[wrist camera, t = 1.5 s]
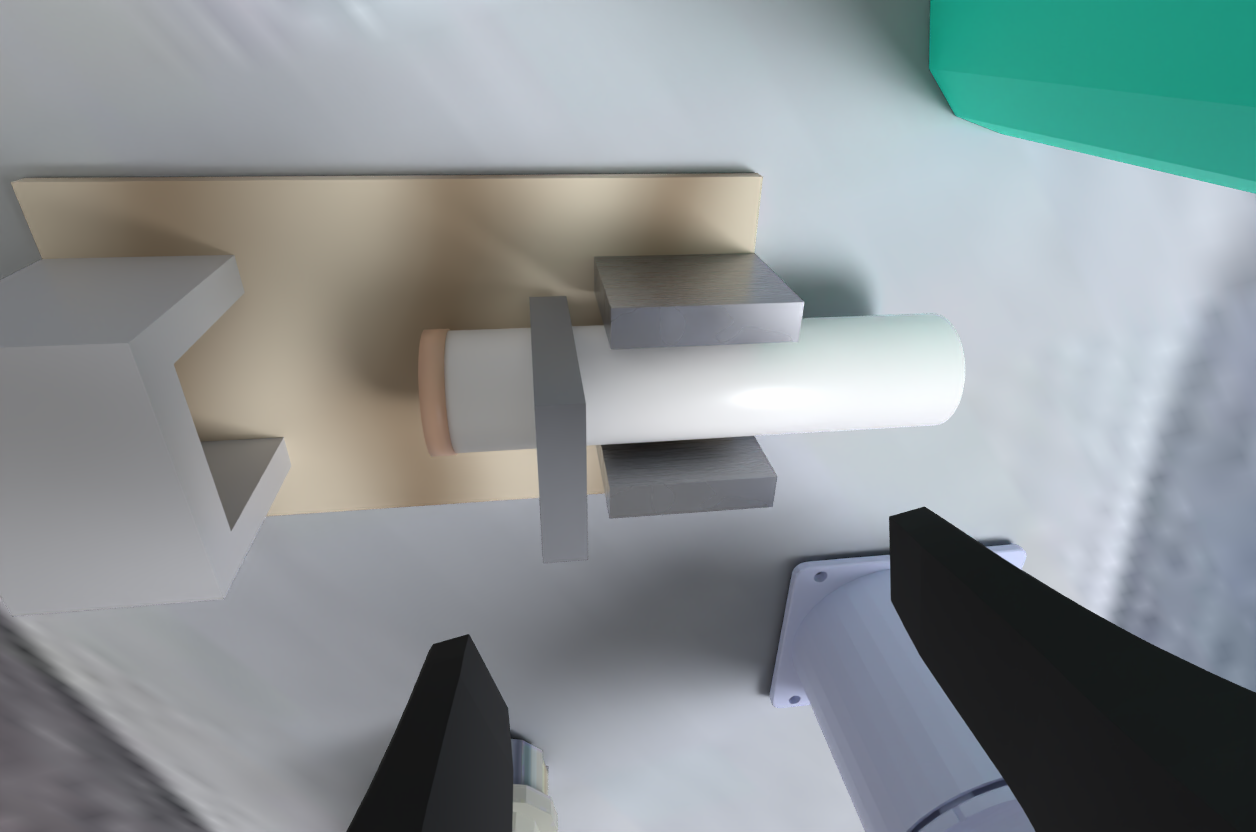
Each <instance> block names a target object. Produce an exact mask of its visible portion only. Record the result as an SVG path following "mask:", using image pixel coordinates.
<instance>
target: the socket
mask: <svg viewBox="0 0 1256 832" xmlns="http://www.w3.org/2000/svg"><path fill="white" fill-rule="evenodd" d="M244 293H245V292H244V288H243V285H242V281H241V277H240V274H239V270H238V266H237V263H236V259H235V255H203V256H155V257H106V258H58V259H41V260H39V261H37V262H35V263H33V264H31V265H29V266H27V267H25V268H23V269H21V270H19V271H17V272H15V273H13V274H11V275H9V276H7V277H5V278H3V279H1V280H0V597H1V599H2V600H3V602H4V604H5V605H6V607H7V609H8V610H9V612H10V614H11V615H12V617H14V616H26V615H38V614H50V613H62V612H74V611H87V610H99V609H111V608H123V607H135V606H147V605H160V604H172V603H184V602H196V601H208V600H220V599H225V597H226V595H227V593H228V591H229V589H230V587H231V585H232V583H233V581H234V579H235V577H236V575H237V573H238V571H239V569H240V567H241V565H242V563H243V561H244V559H245V557H246V555H247V553H248V551H249V549H250V547H251V545H252V543H253V541H254V539H255V537H256V535H257V533H258V531H259V529H260V527H261V525H262V523H263V521H264V519H265V517H266V515H267V513H268V511H269V509H270V507H271V505H272V503H273V501H274V499H275V497H276V495H277V493H278V492H279V490H280V488H281V486H282V484H283V482H284V480H285V478H286V476H287V474H288V472H289V470H290V468H291V462H290V458H289V455H288V451H287V447H286V444H285V440H284V437H279V438H260V439H241V440H223V441H204V442H200V439H199V437H198V434H197V431H196V428H195V425H194V422H193V419H192V416H191V413H190V410H189V407H188V405H187V402H186V399H185V396H184V393H183V390H182V387H181V384H180V381H179V378H178V375H177V372H176V370H175V367H174V363H175V362H176V361H177V360H178V359H179V358H180V357H181V356H182V355H183V354H184V353H185V352H186V351H187V350H188V349H189V348H190V347H191V346H192V345H193V344H194V343H195V342H196V341H197V340H198V339H199V338H200V337H201V336H202V335H203V334H204V333H205V332H206V331H207V330H208V329H209V328H210V327H211V326H212V325H213V324H214V323H215V322H216V321H217V320H218V319H219V318H220V317H221V316H222V315H223V314H224V313H225V312H226V311H227V310H228V309H229V308H230V307H231V306H232V305H233V304H234V303H235V302H236V301H237V300H238V299H239V298H240V297H241V296H242V295H243V294H244Z"/></svg>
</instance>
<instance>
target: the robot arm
mask: <svg viewBox="0 0 1256 832" xmlns="http://www.w3.org/2000/svg"><path fill="white" fill-rule="evenodd" d="M889 531H890V555H880V556H868V557H857V558H845V559H833V560H821V561H809V562H803V563H800V564H799V565H797V566H796V567H795V568H794V570H793V572H792V576H791V581H790V587H789V592H788V598H787V603H786V609H785V614H784V619H783V625H782V630H781V636H780V641H779V647H778V652H777V657H776V663H775V668H774V674H773V679H772V684H771V690H770V700H771V703H772V705H773V706H774V707H777V708H786V707H795V706H804V705H811V707H812V709H813V711H814V714H815V716H816V718H817V721H818V723H819V725H820V728H821V730H822V732H823V735H824V737H825V739H826V741H827V744H828V746H829V748H830V751H831V753H832V755H833V758H834V760H835V762H836V765H837V767H838V769H839V772H840V774H841V776H842V779H843V781H844V783H845V786H846V788H847V790H848V793H849V795H850V797H851V800H852V802H853V804H854V807H855V809H856V811H857V814H858V816H859V818H860V821H861V823H862V825H863V828H864V830H865V832H1256V693H1255V692H1253V691H1251V690H1248V689H1246V688H1244V687H1241V686H1239V685H1237V684H1235V683H1232V682H1230V681H1228V680H1226V679H1223V678H1221V677H1219V676H1217V675H1215V674H1212V673H1210V672H1208V671H1206V670H1204V669H1202V668H1200V667H1198V666H1196V665H1194V664H1192V663H1189V662H1187V661H1185V660H1183V659H1181V658H1179V657H1177V656H1175V655H1173V654H1171V653H1169V652H1167V651H1165V650H1163V649H1160V648H1158V647H1156V646H1154V645H1152V644H1150V643H1148V642H1146V641H1145V640H1143V639H1141V638H1139V637H1137V636H1135V635H1133V634H1131V633H1129V632H1128V631H1126V630H1124V629H1122V628H1120V627H1118V626H1116V625H1115V624H1113V623H1111V622H1109V621H1107V620H1106V619H1104V618H1102V617H1100V616H1098V615H1097V614H1095V613H1093V612H1091V611H1089V610H1088V609H1086V608H1084V607H1082V606H1081V605H1079V604H1077V603H1076V602H1074V601H1072V600H1070V599H1069V598H1067V597H1065V596H1064V595H1062V594H1060V593H1059V592H1057V591H1055V590H1054V589H1052V588H1050V587H1049V586H1047V585H1046V584H1044V583H1042V582H1041V581H1039V580H1037V579H1036V578H1034V577H1032V576H1031V575H1029V574H1028V573H1026V572H1024V571H1023V570H1021V569H1022V567H1023V564H1024V562H1025V560H1026V555H1027V554H1026V552H1025V551H1024V550H1023V548H1022V547H1021V546H1019V545H1016V544H1011V545H999V546H987V547H985V546H984V545H982V544H981V543H979V542H978V541H976V540H975V539H973V538H972V537H970V536H969V535H967V534H966V533H964V532H963V531H961V530H960V529H958V528H957V527H955V526H954V525H952V524H951V523H949V522H948V521H946V520H945V519H943V518H941V517H940V516H938V515H937V514H935V513H934V512H932V511H931V510H929V509H927V508H926V507H922V508H918V509H914V510H911V511H907V512H904V513H900V514H897V515H893V516H889ZM819 572H821V573H820V574H818V575H816V574H817V573H819ZM512 821H513V759H512V746H511V735H510V724H509V714H508V707H507V705H506V703H505V702H504V700H503V698H502V696H501V694H500V692H499V690H498V688H497V686H496V684H495V683H494V681H493V679H492V677H491V675H490V673H489V671H488V669H487V667H486V665H485V663H484V662H483V660H482V658H481V656H480V654H479V652H478V650H477V648H476V646H475V644H474V643H473V641H472V639H471V637H470V635H469V634H468V635H464V636H461V637H457V638H453V639H450V640H446V641H443V642H439V643H436V644H433V645H432V647H431V649H430V650H429V652H428V655H427V657H426V660H425V662H424V664H423V667H422V669H421V672H420V674H419V677H418V679H417V682H416V684H415V686H414V689H413V691H412V694H411V696H410V698H409V701H408V703H407V705H406V708H405V710H404V712H403V715H402V717H401V719H400V721H399V724H398V726H397V728H396V731H395V733H394V735H393V737H392V739H391V742H390V744H389V746H388V748H387V750H386V752H385V755H384V757H383V759H382V761H381V763H380V765H379V768H378V770H377V772H376V774H375V776H374V778H373V780H372V782H371V785H370V787H369V789H368V791H367V793H366V795H365V797H364V799H363V800H362V802H361V804H360V806H359V808H358V810H357V812H356V814H355V816H354V818H353V820H352V822H351V824H350V826H349V828H348V830H347V832H512Z"/></svg>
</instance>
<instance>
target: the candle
mask: <svg viewBox="0 0 1256 832" xmlns="http://www.w3.org/2000/svg"><path fill="white" fill-rule="evenodd" d="M929 70H930V71H931V73H932V75H933V77H934V78H935V80H936V82H937V84H938V86H939V87H940V89H941V91H942V93H943V94H944V96H945V98H946V100H947V102H948V103H949V105H950V107H951V109H952V110H953V112H954V114H955V116H957V117H960V118H962V119H965V120H967V121H970V122H972V123H975V124H977V125H980V126H983V127H985V128H988V129H990V130H993V131H995V132H998V133H1000V134H1004V135H1009V136H1013V137H1017V138H1021V139H1026V140H1030V141H1034V142H1038V143H1043V144H1047V145H1051V146H1055V147H1060V148H1064V149H1068V150H1072V151H1077V152H1081V153H1085V154H1089V155H1094V156H1098V157H1102V158H1106V159H1111V160H1115V161H1119V162H1123V163H1128V164H1132V165H1136V166H1140V167H1145V168H1149V169H1153V170H1157V171H1162V172H1166V173H1170V174H1174V175H1179V176H1183V177H1187V178H1191V179H1196V180H1200V181H1204V182H1208V183H1213V184H1217V185H1221V186H1225V187H1230V188H1234V189H1238V190H1242V191H1247V192H1251V193H1255V194H1256V0H930V41H929Z"/></svg>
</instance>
